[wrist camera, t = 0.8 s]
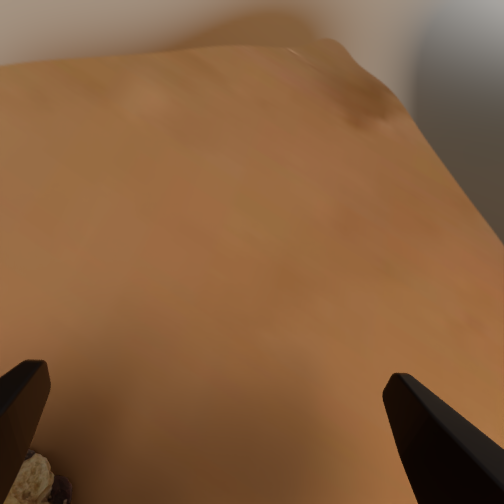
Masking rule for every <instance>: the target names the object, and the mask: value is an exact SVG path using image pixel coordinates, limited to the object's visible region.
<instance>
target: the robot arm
mask: <svg viewBox="0 0 504 504" xmlns="http://www.w3.org/2000/svg"><path fill="white" fill-rule="evenodd" d="M50 388H51V382H50V377H49V372H48V367H47V363H46V362H45V361H44V360H25V361H23V362H21V363H20V364H18V365H17V366H15V367H14V368H13V369H11V370H10V371H8V372H7V373H6V374H4V375H3V376H2V377H0V504H4V502H5V500H6V498H7V495H8V493H9V491H10V489H11V487H12V485H13V483H14V481H15V479H16V477H17V475H18V473H19V471H20V468H21V466H22V464H23V462H24V459H25V457H26V454H27V452H28V449H29V446H30V444H31V441H32V438H33V436H34V433H35V430H36V428H37V425H38V422H39V420H40V417H41V414H42V412H43V409H44V406H45V403H46V401H47V398H48V395H49V392H50ZM382 397H383V402H384V406H385V409H386V413H387V416H388V419H389V423H390V426H391V429H392V433H393V436H394V440H395V443H396V446H397V449H398V453H399V456H400V459H401V461H402V464H403V467H404V469H405V472H406V474H407V477H408V479H409V482H410V484H411V487H412V489H413V492H414V495H415V497H416V500H417V502H418V504H504V449H503V448H501V447H500V446H499V445H498V444H496V443H495V442H494V441H493V440H491V439H490V438H489V437H488V436H486V435H485V434H484V433H483V432H481V431H480V430H479V429H478V428H476V427H475V426H474V425H473V424H471V423H470V422H469V421H468V420H466V419H465V418H464V417H463V416H461V415H460V414H459V413H458V412H456V411H455V410H454V409H453V408H451V407H450V406H449V405H448V404H446V403H445V402H444V401H443V400H441V399H440V398H439V397H438V396H436V395H435V394H434V393H433V392H431V391H430V390H429V389H428V388H426V387H425V386H424V385H423V384H421V383H420V382H419V381H418V380H416V379H415V378H414V377H413V376H411V375H410V374H407V373H394V374H392V376H391V377H390V379H389V381H388V383H387V385H386V387H385V388H384V390H383V395H382Z"/></svg>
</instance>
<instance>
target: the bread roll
mask: <svg viewBox="0 0 504 504" xmlns="http://www.w3.org/2000/svg"><path fill="white" fill-rule="evenodd" d="M50 469H51V466H50V463H49V462H48V460H47V458H46V457H42V456H41V454H37V453H35V451H33V450H30V449H28V452H27V454H26V457H25V459H24V462H23V464H22V466H21V468H20V471H19V473H18V475H17V477H16V479H15V481H14V483H13V485H12V487H11V489H10V491H9V493H8V495H7V498H6V500H5V502H4V504H70V502H71V497H72V484H71V483H70V482H69V481H68V478H66V477H64V476H59V475H55V476H54V474H53V473H52V472H51V471H50Z"/></svg>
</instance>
